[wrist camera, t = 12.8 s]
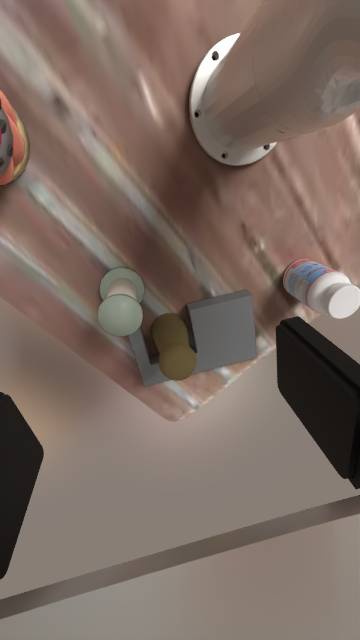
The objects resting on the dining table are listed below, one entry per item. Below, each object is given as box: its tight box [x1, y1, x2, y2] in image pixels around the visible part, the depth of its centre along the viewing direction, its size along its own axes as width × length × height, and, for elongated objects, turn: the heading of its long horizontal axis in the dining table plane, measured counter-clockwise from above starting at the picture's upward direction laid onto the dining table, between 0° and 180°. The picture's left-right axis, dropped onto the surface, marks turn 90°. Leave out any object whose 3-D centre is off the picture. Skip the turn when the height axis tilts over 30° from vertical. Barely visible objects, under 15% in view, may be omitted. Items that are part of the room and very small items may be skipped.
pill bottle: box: [283, 259, 360, 319], centre depth 40 cm, size 6×6×11 cm
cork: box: [151, 313, 197, 381], centre depth 41 cm, size 6×6×11 cm
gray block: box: [128, 290, 257, 386], centre depth 46 cm, size 20×12×2 cm, turn 101°
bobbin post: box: [98, 267, 144, 336], centre depth 37 cm, size 6×6×10 cm
